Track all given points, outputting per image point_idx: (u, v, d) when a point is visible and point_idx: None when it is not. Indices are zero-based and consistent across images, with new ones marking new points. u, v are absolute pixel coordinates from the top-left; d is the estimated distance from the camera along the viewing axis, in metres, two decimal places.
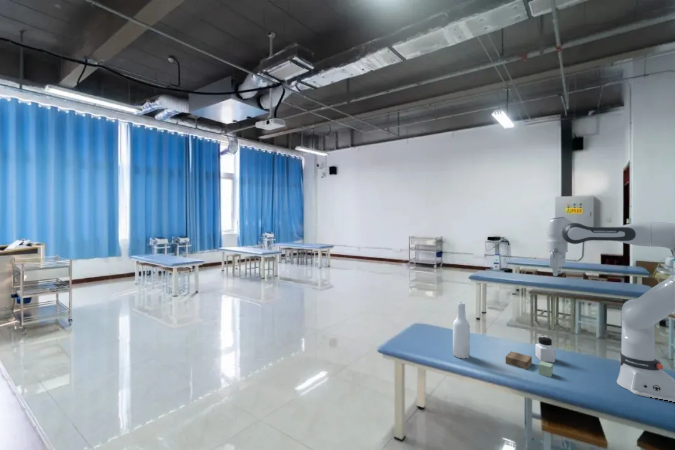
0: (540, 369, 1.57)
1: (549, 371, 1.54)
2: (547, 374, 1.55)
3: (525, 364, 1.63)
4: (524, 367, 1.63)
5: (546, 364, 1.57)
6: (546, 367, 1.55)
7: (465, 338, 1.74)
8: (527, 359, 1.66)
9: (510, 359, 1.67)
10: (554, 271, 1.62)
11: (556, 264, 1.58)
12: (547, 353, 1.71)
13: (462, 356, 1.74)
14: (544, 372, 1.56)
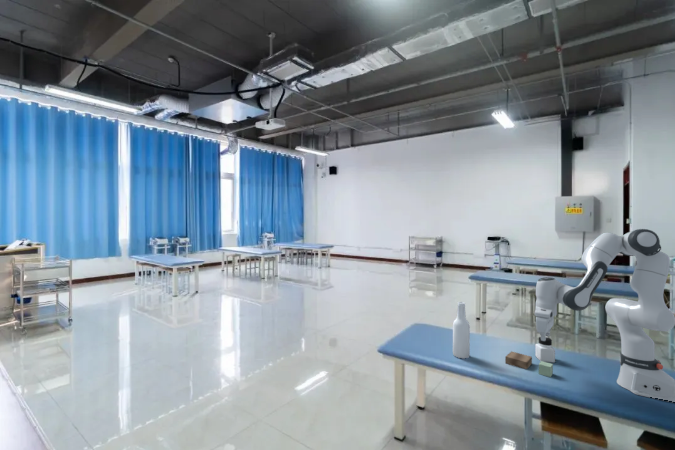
0: (540, 369, 1.57)
1: (549, 371, 1.54)
2: (547, 374, 1.55)
3: (525, 364, 1.63)
4: (524, 367, 1.63)
5: (546, 364, 1.57)
6: (546, 367, 1.55)
7: (465, 338, 1.74)
8: (527, 359, 1.66)
9: (510, 359, 1.68)
10: None
11: None
12: (547, 353, 1.71)
13: (462, 356, 1.74)
14: (544, 372, 1.56)
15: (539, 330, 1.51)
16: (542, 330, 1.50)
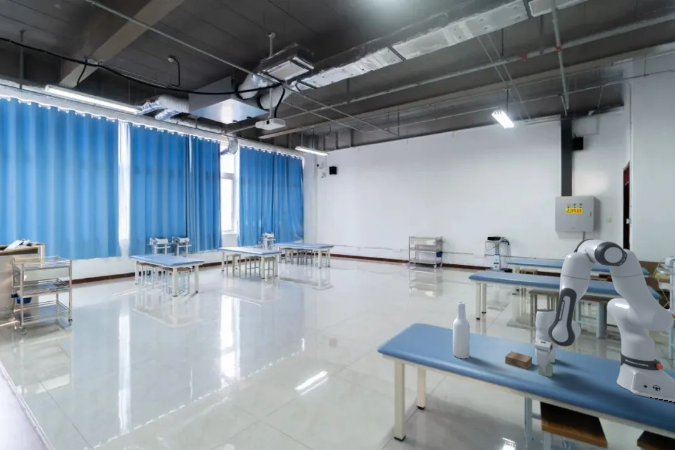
0: (540, 369, 1.57)
1: (549, 371, 1.54)
2: (547, 374, 1.55)
3: (525, 364, 1.63)
4: (524, 367, 1.63)
5: None
6: (546, 367, 1.55)
7: (465, 338, 1.74)
8: (527, 359, 1.66)
9: (510, 359, 1.68)
10: None
11: None
12: None
13: (462, 356, 1.74)
14: (544, 372, 1.56)
15: (539, 363, 1.51)
16: (542, 363, 1.50)
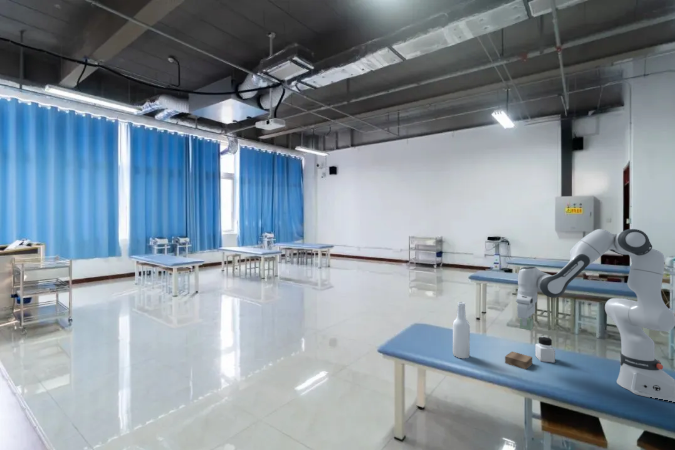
0: (521, 323, 1.65)
1: (529, 324, 1.62)
2: (527, 327, 1.63)
3: (524, 364, 1.63)
4: (523, 367, 1.63)
5: (527, 318, 1.65)
6: None
7: (465, 338, 1.74)
8: (527, 359, 1.66)
9: (509, 359, 1.68)
10: None
11: None
12: (547, 353, 1.71)
13: (462, 356, 1.74)
14: (524, 326, 1.64)
15: (519, 316, 1.59)
16: (522, 315, 1.58)
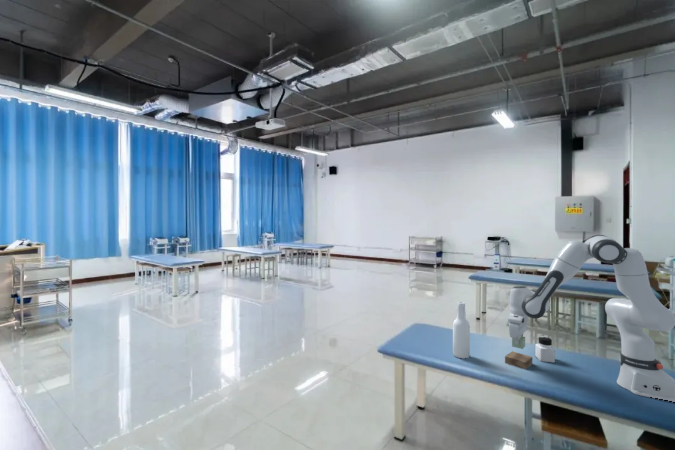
0: (513, 342, 1.69)
1: (521, 343, 1.66)
2: (519, 346, 1.66)
3: (524, 364, 1.63)
4: (523, 367, 1.63)
5: (519, 337, 1.69)
6: (519, 339, 1.67)
7: (465, 338, 1.74)
8: (527, 359, 1.65)
9: (509, 359, 1.68)
10: None
11: None
12: (547, 353, 1.71)
13: (462, 356, 1.74)
14: (516, 344, 1.67)
15: (511, 335, 1.62)
16: (514, 335, 1.61)
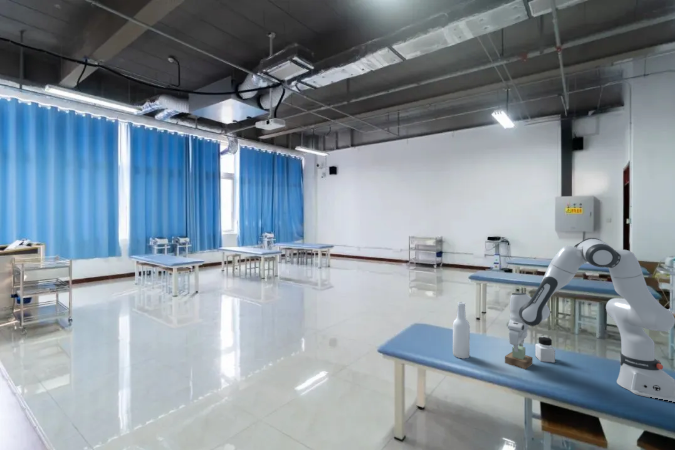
0: (513, 352, 1.68)
1: (521, 354, 1.66)
2: (520, 356, 1.66)
3: (524, 364, 1.63)
4: (523, 367, 1.63)
5: (519, 347, 1.69)
6: (519, 350, 1.67)
7: (465, 338, 1.74)
8: (527, 359, 1.65)
9: (509, 359, 1.68)
10: None
11: None
12: (547, 353, 1.71)
13: (462, 356, 1.74)
14: (517, 355, 1.67)
15: (511, 342, 1.62)
16: (514, 342, 1.62)
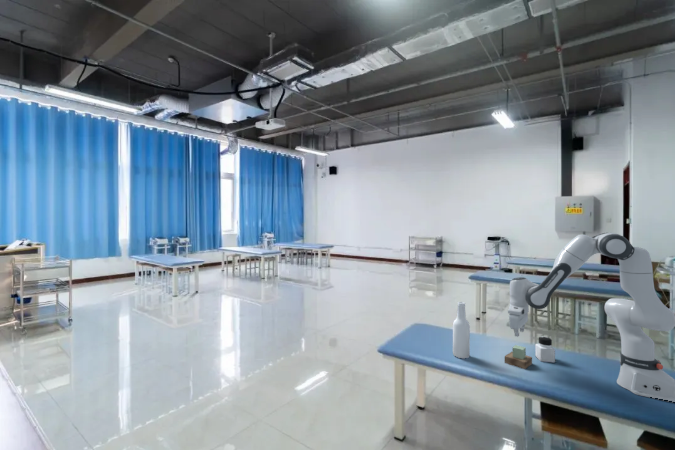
0: (514, 352, 1.68)
1: (522, 354, 1.66)
2: (520, 356, 1.66)
3: (523, 364, 1.63)
4: (522, 367, 1.63)
5: (519, 347, 1.69)
6: (519, 350, 1.67)
7: (465, 338, 1.74)
8: (526, 359, 1.66)
9: (509, 359, 1.68)
10: None
11: None
12: (547, 353, 1.71)
13: (462, 356, 1.74)
14: (517, 355, 1.67)
15: (512, 327, 1.63)
16: (514, 326, 1.62)
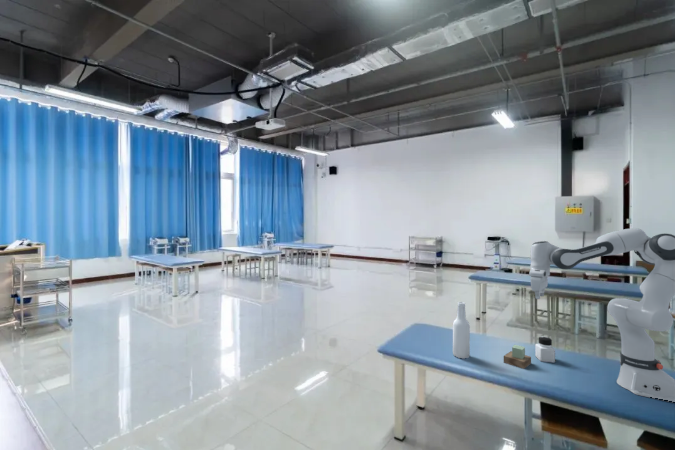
0: (513, 352, 1.69)
1: (521, 353, 1.66)
2: (520, 356, 1.67)
3: (522, 364, 1.63)
4: (521, 367, 1.64)
5: (519, 347, 1.69)
6: (519, 350, 1.67)
7: (465, 338, 1.74)
8: (525, 359, 1.66)
9: (508, 358, 1.69)
10: None
11: None
12: (547, 353, 1.71)
13: (462, 356, 1.74)
14: (517, 355, 1.68)
15: (533, 288, 1.63)
16: (536, 288, 1.62)
